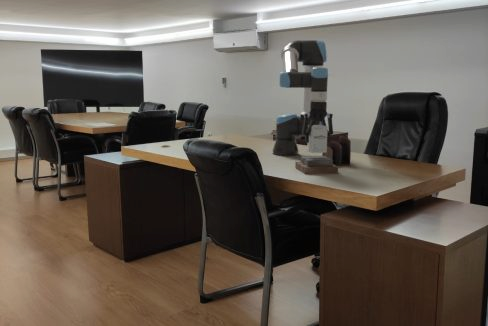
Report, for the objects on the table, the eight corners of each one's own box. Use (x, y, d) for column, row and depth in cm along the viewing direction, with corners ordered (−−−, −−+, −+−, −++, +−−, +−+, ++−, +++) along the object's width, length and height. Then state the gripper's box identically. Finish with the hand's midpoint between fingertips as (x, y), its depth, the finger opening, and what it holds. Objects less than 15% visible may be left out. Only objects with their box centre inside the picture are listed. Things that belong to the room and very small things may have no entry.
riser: (295, 167, 235) (295, 155, 234) (326, 167, 237) (326, 155, 236) (304, 174, 219) (305, 161, 218) (337, 173, 222) (338, 160, 221)
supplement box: (312, 153, 222) (313, 126, 220) (307, 150, 230) (307, 124, 227) (327, 152, 224) (328, 126, 222) (321, 150, 231) (322, 124, 229)
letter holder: (339, 160, 261) (340, 134, 259) (350, 166, 242) (351, 138, 239) (321, 160, 260) (322, 134, 258) (331, 166, 241) (332, 138, 238)
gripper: (300, 101, 217) (298, 150, 221) (342, 101, 221) (339, 150, 225) (295, 100, 225) (294, 148, 228) (336, 100, 228) (334, 148, 232)
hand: (316, 149), depth 226 cm, fingers closed on supplement box, 7 cm apart
